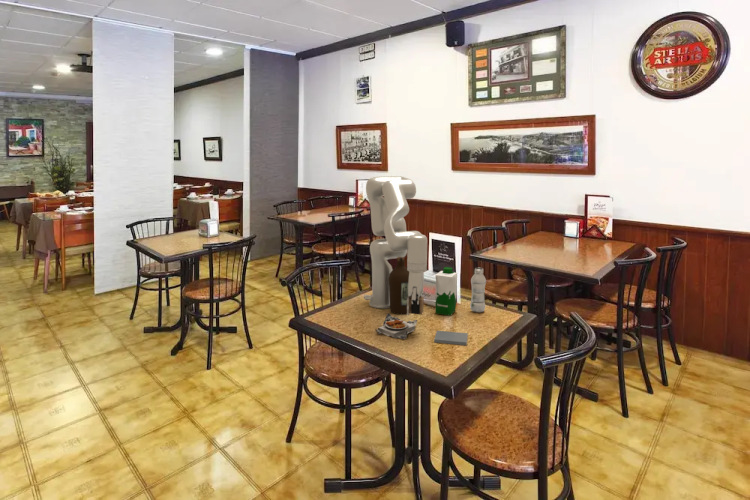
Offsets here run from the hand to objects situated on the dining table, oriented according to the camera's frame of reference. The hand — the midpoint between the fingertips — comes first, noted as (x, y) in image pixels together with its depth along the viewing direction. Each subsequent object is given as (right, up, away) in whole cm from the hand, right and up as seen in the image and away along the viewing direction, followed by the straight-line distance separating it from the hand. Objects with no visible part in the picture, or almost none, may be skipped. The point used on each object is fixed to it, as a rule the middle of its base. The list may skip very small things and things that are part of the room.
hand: (416, 311), depth 175 cm
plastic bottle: (+30, -4, +26) cm, 40 cm away
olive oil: (-5, -4, +27) cm, 28 cm away
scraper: (0, -1, 0) cm, 1 cm away
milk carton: (+15, -4, +25) cm, 30 cm away
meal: (-1, -7, +2) cm, 7 cm away
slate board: (+13, -10, -4) cm, 17 cm away
